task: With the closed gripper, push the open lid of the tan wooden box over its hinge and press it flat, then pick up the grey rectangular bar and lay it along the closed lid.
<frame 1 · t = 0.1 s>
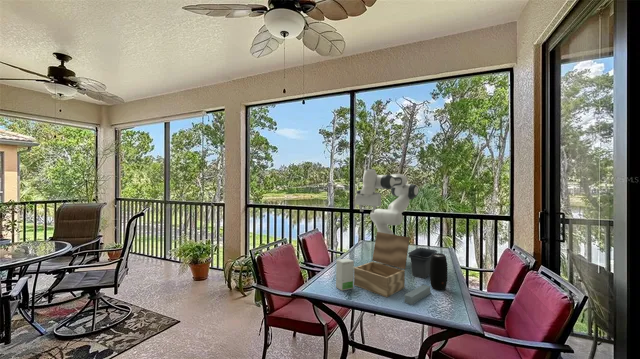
hand: (367, 212, 185), 39 cm above the table, tool pointing down, fingers open, 8 cm apart
lid: (390, 249, 162), point 19 cm above the table, hinge at 105.0°
portable speaker: (438, 288, 152), on the table
storage bin: (421, 273, 176), on the table
skincare box: (344, 288, 152), on the table
box: (378, 286, 154), on the table
grey rectangular bar: (417, 298, 140), on the table
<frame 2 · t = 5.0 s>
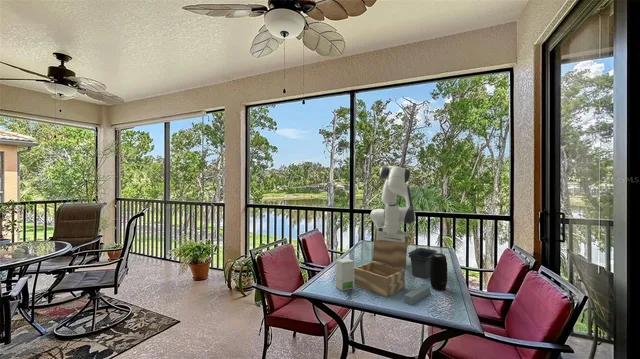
hand: (391, 252, 163), 17 cm above the table, tool pointing down, fingers closed, pressing on lid
lid: (389, 249, 161), point 19 cm above the table, hinge at 98.9°, touching gripper
everything else where it was.
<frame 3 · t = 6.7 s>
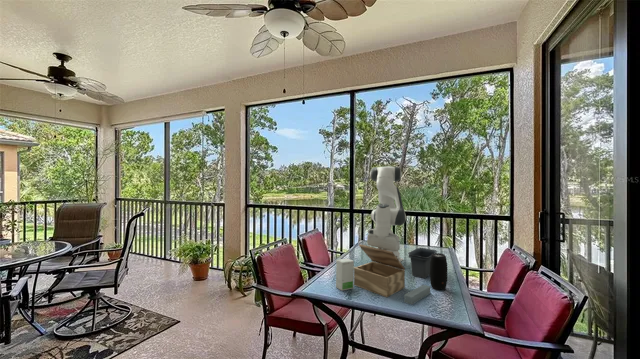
hand: (382, 255, 157), 17 cm above the table, tool pointing down, fingers closed, pressing on lid
lid: (381, 256, 156), point 17 cm above the table, hinge at 41.6°, touching gripper
everything else where it was.
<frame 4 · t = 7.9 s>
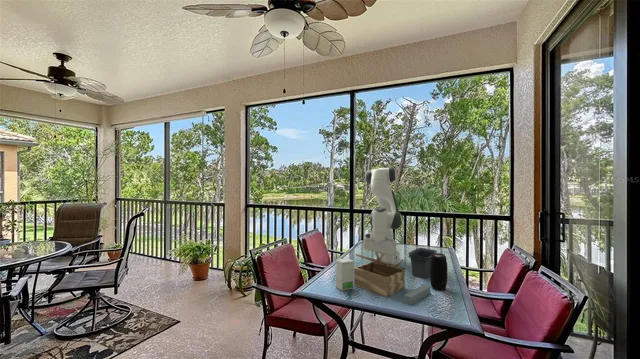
hand: (379, 260, 154), 15 cm above the table, tool pointing down, fingers closed, pressing on lid
lid: (379, 261, 155), point 14 cm above the table, hinge at 21.7°, touching gripper
everything else where it was.
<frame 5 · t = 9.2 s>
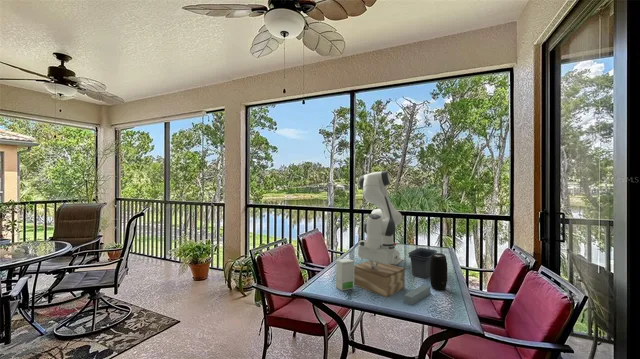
hand: (373, 268, 151), 11 cm above the table, tool pointing down, fingers closed, pressing on lid
lid: (379, 267, 154), point 11 cm above the table, hinge at 0.7°, touching gripper
everything else where it was.
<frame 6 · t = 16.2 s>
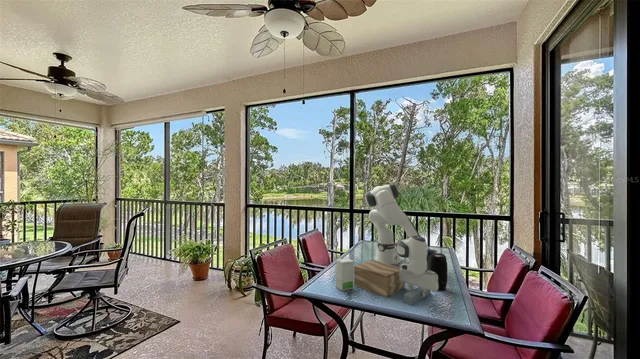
hand: (417, 294, 140), 2 cm above the table, tool pointing down, fingers closed on grey rectangular bar, 4 cm apart
lid: (379, 268, 154), point 11 cm above the table, hinge at 0.0°
grey rectangular bar: (417, 298, 140), on the table, touching gripper
everything else where it was.
when the fingers open (14 cm above the table, at t = 21.0 s): grey rectangular bar stays where it is, resting on lid.
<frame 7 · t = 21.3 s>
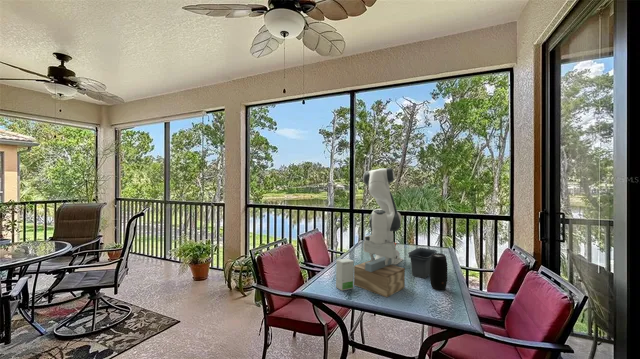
hand: (379, 262, 154), 14 cm above the table, tool pointing down, fingers open, 7 cm apart
lid: (379, 268, 154), point 11 cm above the table, hinge at -0.1°, touching grey rectangular bar
grey rectangular bar: (378, 267, 154), point 11 cm above the table, touching lid
everything else where it was.
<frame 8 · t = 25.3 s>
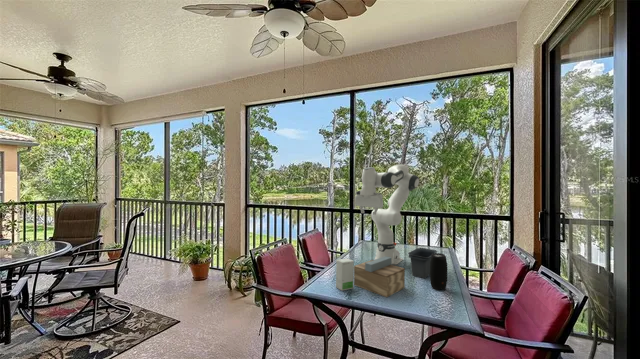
hand: (368, 213, 173), 39 cm above the table, tool pointing down, fingers open, 8 cm apart
nothing on the table moved.
at the end: lid at +0° (first picture: +105°); grey rectangular bar inside the target area (0.3 cm from its centre), point 11.1 cm above the table; grey rectangular bar touching lid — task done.
